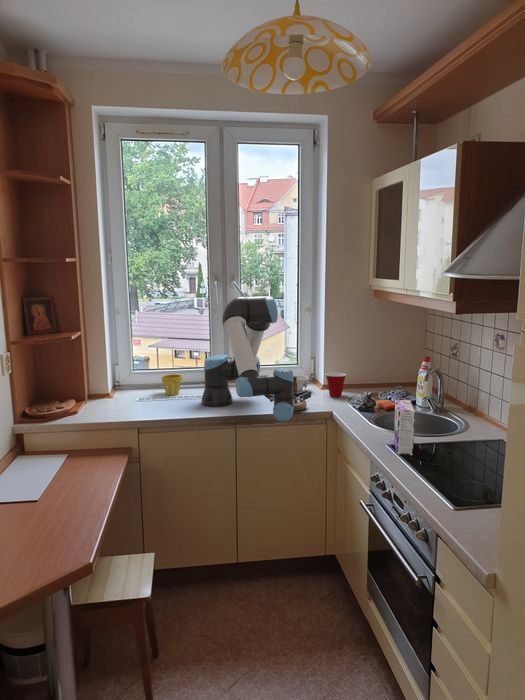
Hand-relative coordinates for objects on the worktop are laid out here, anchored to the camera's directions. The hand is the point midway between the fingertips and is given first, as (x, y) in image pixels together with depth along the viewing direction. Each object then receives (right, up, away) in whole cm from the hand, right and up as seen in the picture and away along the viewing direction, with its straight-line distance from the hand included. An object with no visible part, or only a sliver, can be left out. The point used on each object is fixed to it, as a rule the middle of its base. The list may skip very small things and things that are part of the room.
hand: (288, 389), depth 220 cm
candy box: (+40, -19, -40) cm, 59 cm away
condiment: (+2, -7, +11) cm, 13 cm away
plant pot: (-59, -6, +40) cm, 72 cm away
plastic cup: (+26, -6, +32) cm, 42 cm away
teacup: (+6, -5, +43) cm, 44 cm away
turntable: (+1, -10, +11) cm, 15 cm away
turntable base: (+1, -10, +11) cm, 15 cm away
